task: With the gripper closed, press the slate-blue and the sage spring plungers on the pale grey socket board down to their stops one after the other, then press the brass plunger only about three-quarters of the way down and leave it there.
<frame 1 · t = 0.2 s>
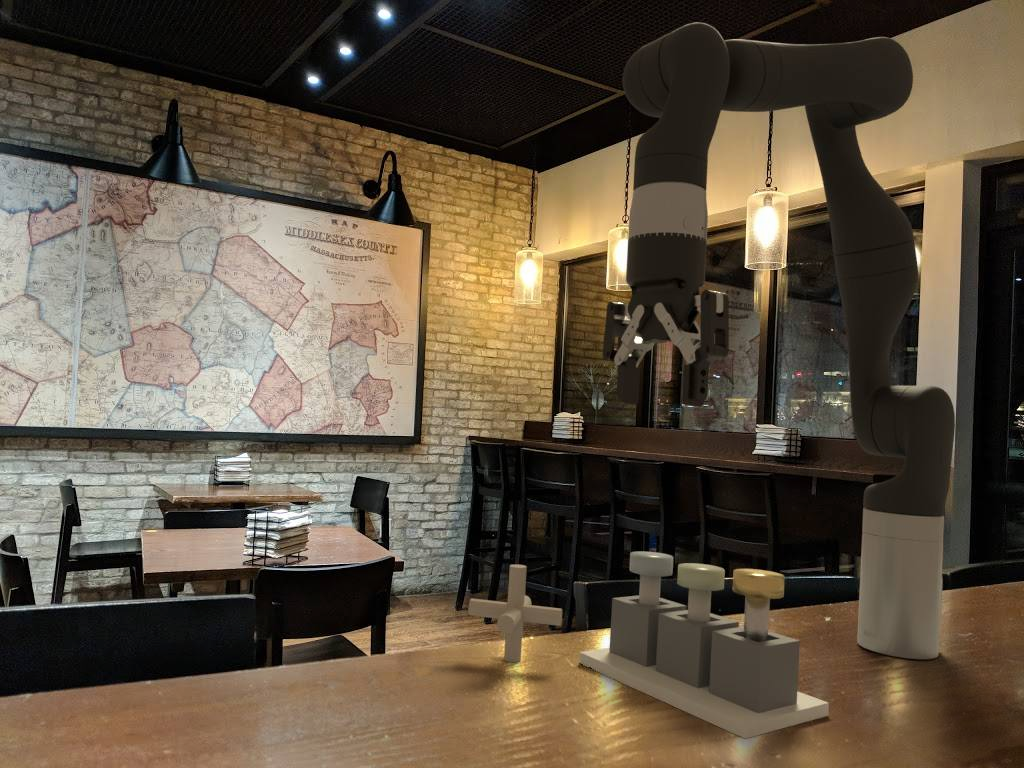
hand: (658, 404, 76), 28 cm above the table, fingers open, 8 cm apart
socket board: (694, 687, 80), on the table
slate plug: (649, 593, 86), point 8 cm above the table, slide at 0.8 cm
brass plug: (756, 618, 74), point 9 cm above the table, slide at 0.0 cm
sage plug: (699, 608, 80), point 8 cm above the table, slide at 0.8 cm
pipe connector: (512, 661, 85), on the table
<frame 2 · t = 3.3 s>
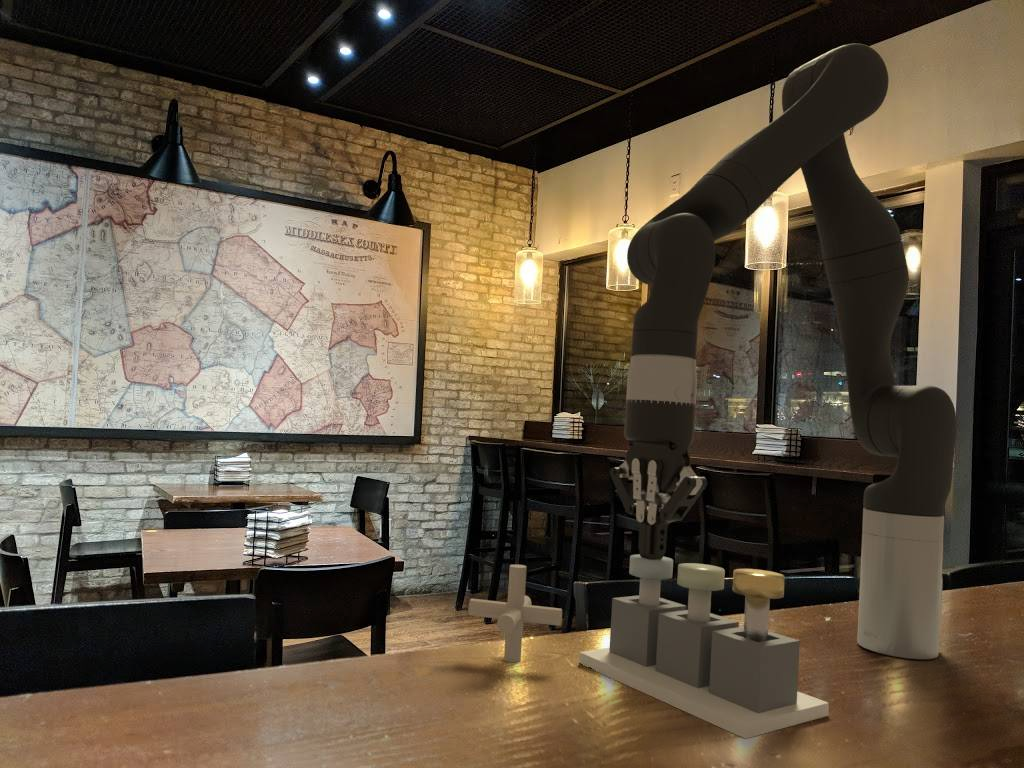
hand: (651, 558, 86), 12 cm above the table, fingers closed
slate plug: (649, 596, 86), point 8 cm above the table, slide at 1.1 cm, touching gripper
everything else where it was.
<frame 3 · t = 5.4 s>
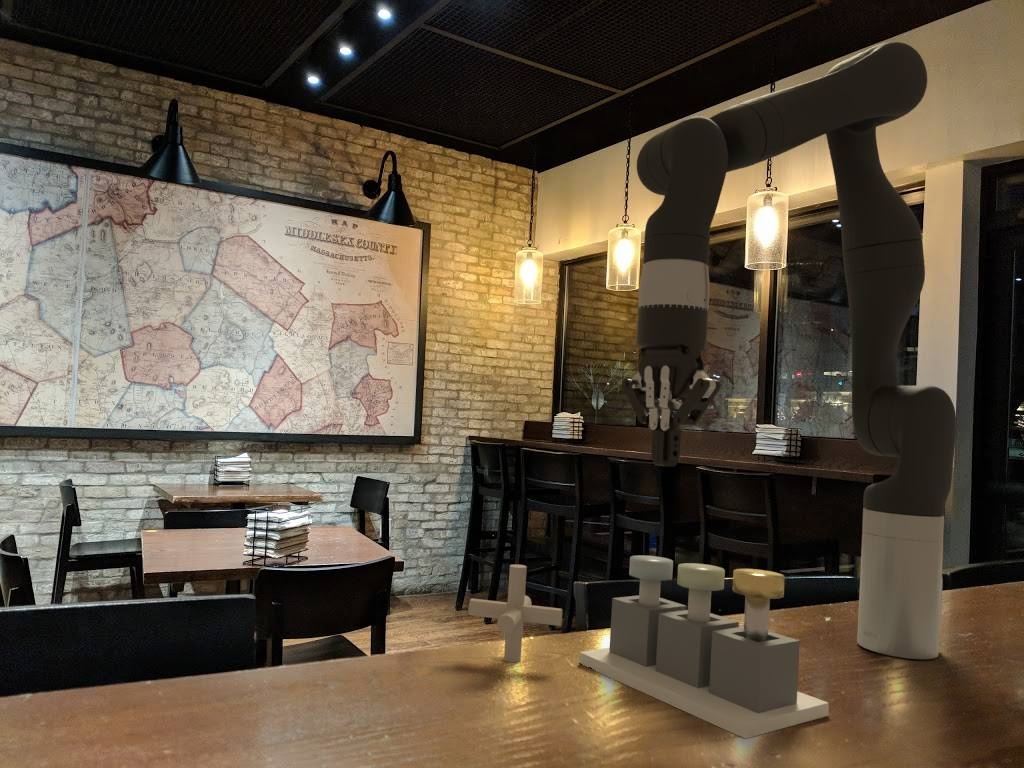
hand: (664, 465, 86), 22 cm above the table, fingers closed
slate plug: (649, 597, 86), point 7 cm above the table, slide at 1.2 cm
everything else where it was.
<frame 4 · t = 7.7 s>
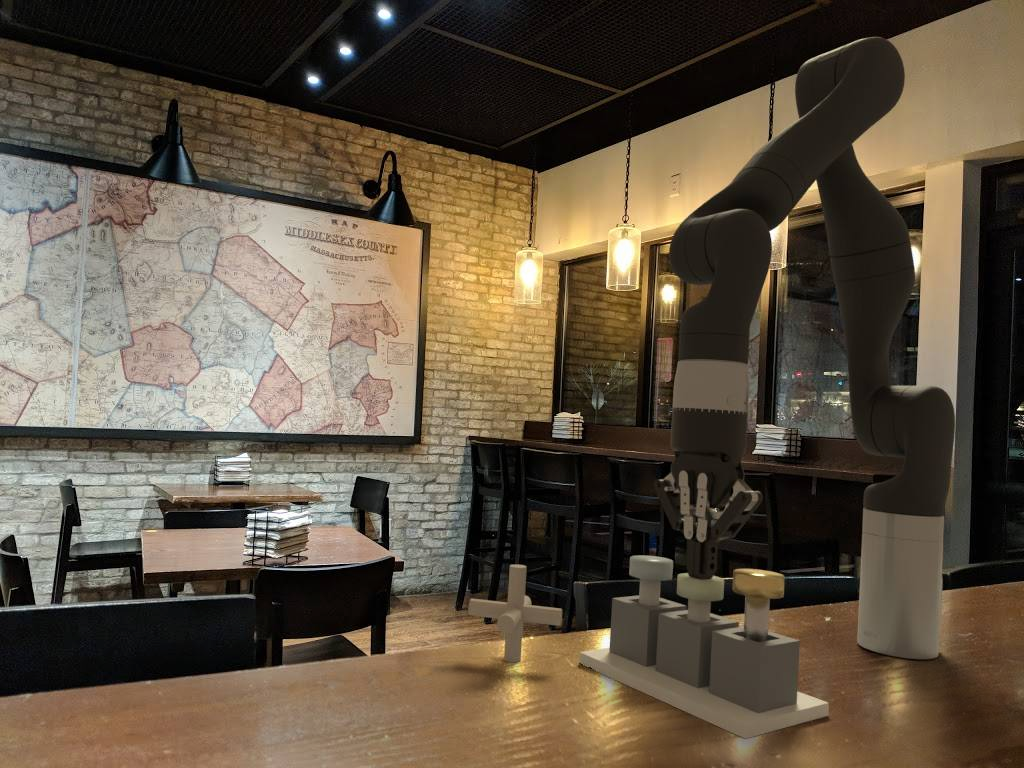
hand: (700, 577, 80), 11 cm above the table, fingers closed
sage plug: (698, 619, 80), point 7 cm above the table, slide at 1.8 cm, touching gripper
everything else where it was.
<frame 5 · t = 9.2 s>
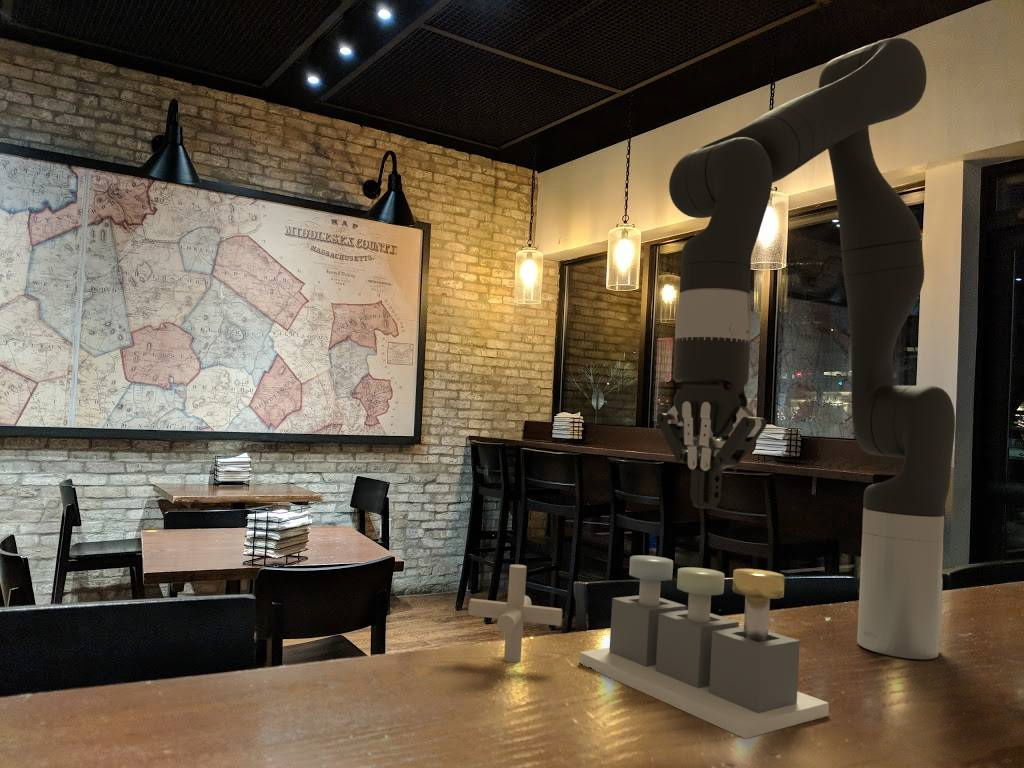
hand: (704, 507, 81), 18 cm above the table, fingers closed
sage plug: (698, 613, 80), point 7 cm above the table, slide at 1.2 cm
everything else where it was.
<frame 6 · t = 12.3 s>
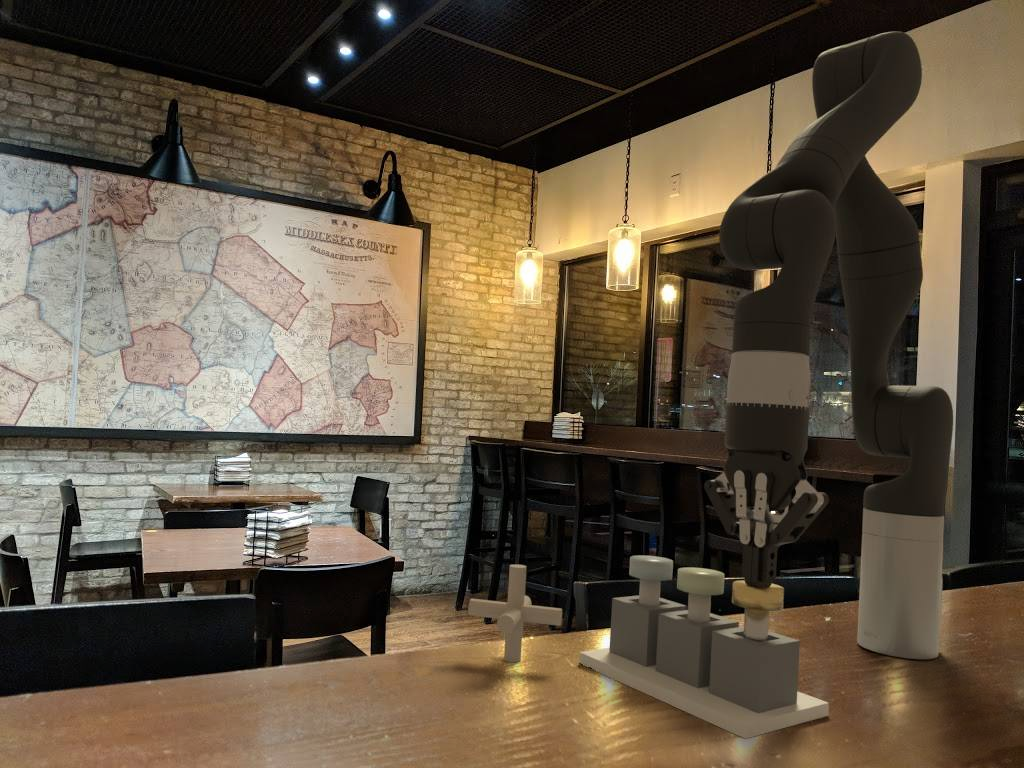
hand: (757, 585, 75), 12 cm above the table, fingers closed
brass plug: (755, 630, 74), point 8 cm above the table, slide at 1.1 cm, touching gripper
everything else where it was.
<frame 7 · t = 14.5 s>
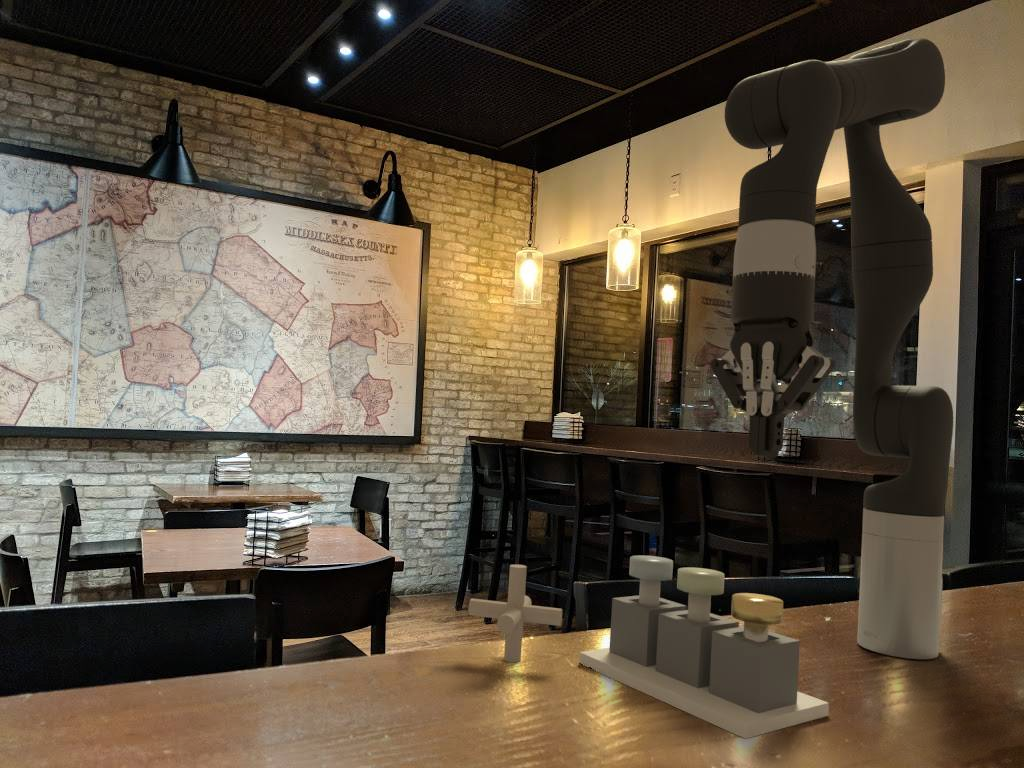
hand: (764, 456, 75), 24 cm above the table, fingers closed
brass plug: (755, 643, 74), point 6 cm above the table, slide at 2.3 cm
everything else where it was.
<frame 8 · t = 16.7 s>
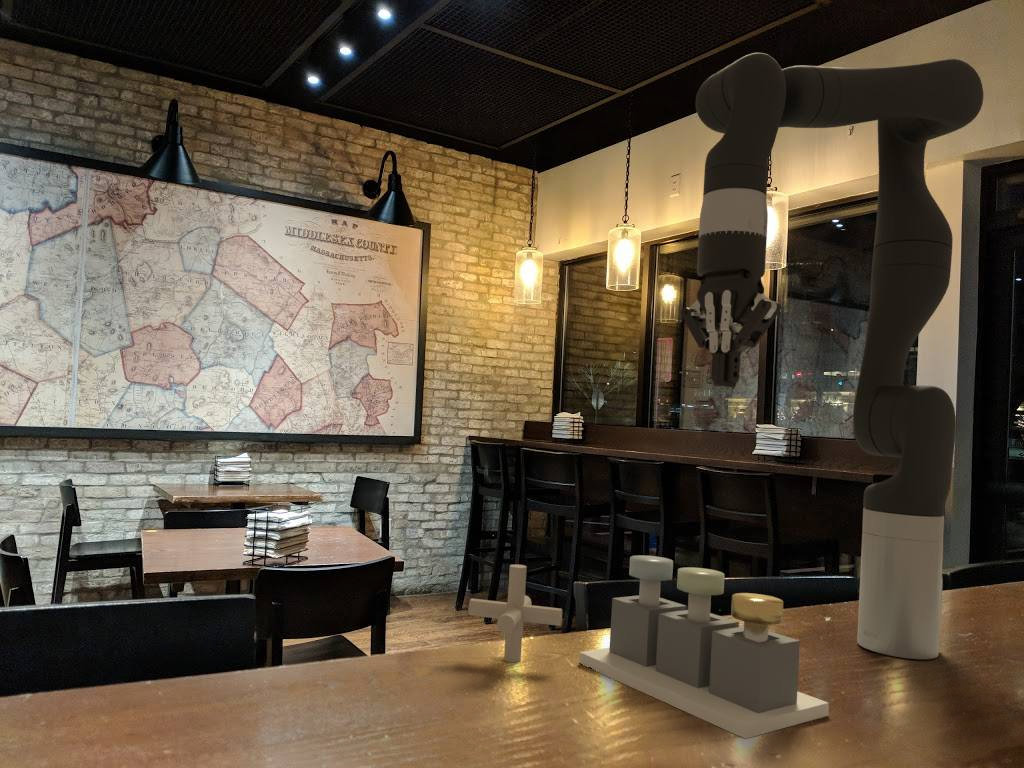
hand: (724, 386, 90), 31 cm above the table, fingers closed
nothing on the table moved.
at the end: brass plug slide at 2.3 cm; slate plug slide at 1.2 cm; sage plug slide at 1.2 cm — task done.
